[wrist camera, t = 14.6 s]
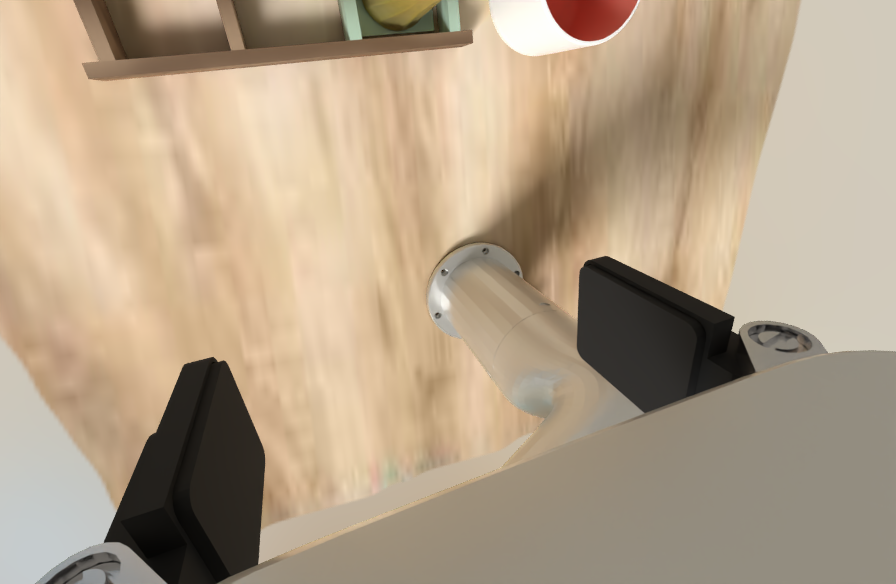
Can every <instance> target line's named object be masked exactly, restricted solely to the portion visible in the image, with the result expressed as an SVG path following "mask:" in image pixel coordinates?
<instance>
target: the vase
mask: <svg viewBox="0 0 896 584" xmlns="http://www.w3.org/2000/svg"><path fill="white" fill-rule="evenodd" d="M440 1H441V0H362V2H363V5H364V7H365V9H366V11H367V12H368V13H369V15H370V16H371V17H372V18H373V19H374V20H375V21H376V22H377V23H378V24H379V25H381V26H382V27H384V28H387V29H389V30H394V31H403V30H407V29H409V28H411V27H413V26H414V25H415V24H417V23H418V22H419V20H420V19H421V18H422V17H423V16H424V15H425V14H426V13H427V12H429V11H430V10H431V9H432V8H433V7H434V6H435V5H437V4H438V3H439V2H440Z"/></svg>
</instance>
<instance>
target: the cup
mask: <svg viewBox="0 0 896 584" xmlns="http://www.w3.org/2000/svg"><path fill="white" fill-rule="evenodd" d="M639 2H640V0H489V8H490V13H491V17H492V21H493V23H494V26H495V28H496V30H497V32H498V34H499V35H500V37H501V38H502V39H503V41H504V42H505V43H506V44H507V45H508V46H509V47H510V48H512V49H513V50H515V51H517V52H519V53H521V54H524V55H528V56H541V55H546V54H552V53H557V52H562V51H567V50H573V49H578V48H583V47H588V46H593V45H598V44H601V43H603V42H606V41H608V40H609V39H611V38H612V37H614V36H615V35H616V34H618V33H619V32H620V31H621V30H622V29H623V28H624V27H625V25H626V24H627V23H628V22H629V20H630V19H631V17H632V16H633V14H634V12H635V10H636V9H637V6H638V4H639Z"/></svg>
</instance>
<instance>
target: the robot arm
mask: <svg viewBox="0 0 896 584" xmlns="http://www.w3.org/2000/svg"><path fill="white" fill-rule="evenodd" d="M483 249H484V250H483ZM482 250H483V251H482ZM443 269H444V270H443ZM442 270H443V271H442ZM441 271H442V272H441ZM426 301H427V308H428V311H429V314H430V316H431V318H432V319H433V321H434V322H435V324H436V325H437V327H438V328H440V329H441V330H442V331H443V332H444V333H446V334H448V335H450V336H452V337H455V338H459V339H463V340H464V342H465V343H466V345H467V346H468V347H469V349H470V350H471V351H472V353H473V354H474V356H475V357H476V358H477V360H478V361H479V362H480V364H481V365H482V366H483V368H484V369H485V371H486V372H487V373H488V375H489V376H490V377H491V379H492V380H493V381H494V383H495V384H496V385H497V387H498V388H499V390H500V391H501V392H502V394H503V395H504V396H505V397H506V399H507V400H508V401H509V402H510V403H512V404H513V405H514V406H515V407H517V408H518V409H520V410H522V411H524V412H526V413H528V414H531V415H534V416H537V417H541V418H545V419H544V421H543V422H542V423H541V424H540V425H539V426H538V429H537V430H536V431H535V432H534V433H533V434H532V435H531V436H530V437H529V438H528V439H527V440H526V442H524V444H523V445H522V446H521V447H520V448H519V449H518V450H517V451H516V452H515V453H514V454H513V455H512V457H511V458H510V459H509V460H508V461H507V462H506V463H505V464H504V465H503V466H502V467H501V468H500V469H497V470H494V471H492V472H489V473H487V474H484V475H482V476H479V477H476V478H474V479H471V480H469V481H466V482H463V483H461V484H458V485H456V486H453V487H451V488H448V489H445V490H443V491H440V492H438V493H435V494H432V495H430V496H427V497H425V498H422V499H420V500H417V501H414V502H412V503H409V504H407V505H404V506H402V507H399V508H396V509H394V510H391V511H389V512H386V513H384V514H381V515H378V516H376V517H373V518H371V519H368V520H366V521H363V522H361V523H358V524H356V525H353V526H350V527H348V528H345V529H343V530H340V531H338V532H335V533H333V534H330V535H328V536H325V537H323V538H320V539H318V540H315V541H313V542H310V543H308V544H306V545H303V546H301V547H298V548H296V549H294V550H291V551H289V552H287V553H284V554H282V555H279V556H277V557H275V558H272V559H270V560H268V561H265V562H263V563H261V564H258V559H259V545H260V530H261V516H262V501H263V487H264V472H265V454H264V449H263V446H262V443H261V441H260V439H259V436H258V434H257V432H256V429H255V427H254V425H253V422H252V420H251V418H250V415H249V413H248V411H247V408H246V406H245V403H244V401H243V399H242V396H241V394H240V392H239V389H238V387H237V385H236V382H235V380H234V378H233V375H232V373H231V371H230V368H229V366H228V364H227V363H226V361H220V362H217V360H216V359H215V358H214V357H211V358H207V359H203V360H199V361H195V362H191V363H187V364H184V366H183V368H182V370H181V373H180V375H179V378H178V380H177V383H176V385H175V387H174V390H173V392H172V395H171V397H170V400H169V402H168V405H167V407H166V410H165V412H164V415H163V417H162V419H161V422H160V424H159V427H158V429H157V432H156V433H154V434H152V435H151V436H150V437H149V438H148V440H147V442H146V444H145V446H144V449H143V451H142V453H141V456H140V458H139V460H138V463H137V465H136V468H135V470H134V472H133V475H132V477H131V479H130V482H129V484H128V486H127V489H126V491H125V493H124V496H123V498H122V501H121V503H120V505H119V508H118V510H117V512H116V515H115V517H114V520H113V522H112V524H111V527H110V529H109V531H108V534H107V536H106V538H105V541H104V543H103V544H99V545H95V546H92V547H89V548H87V549H85V550H83V551H80V552H78V553H77V554H74V555H72V556H70V557H69V558H68V559H66V560H65V561H63V562H62V563H60V564H59V565H57V566H56V567H54V568H53V569H51V570H50V571H49V572H48V573H47V574H46V575H45V576H44V577H42V578H41V579H40V580H39V581H38V582H37V583H35V584H896V352H893V351H874V350H871V351H843V352H835V353H828V352H827V351H826V349H825V348H824V347H823V345H822V344H821V342H820V341H819V340H818V339H817V338H816V337H815V336H814V335H812V334H810V333H809V332H807V331H805V330H803V329H800V328H798V327H795V326H792V325H788V324H784V323H779V322H773V321H755V322H749V323H747V324H744V325H743V326H742V327H741V328H740V330H739V334H736V333H734V332H732V331H731V330H732V326H733V322H734V317H733V316H731V315H729V314H727V313H725V312H723V311H721V310H719V309H717V308H715V307H713V306H711V305H709V304H706V303H704V302H702V301H700V300H698V299H696V298H694V297H692V296H690V295H688V294H686V293H683V292H681V291H679V290H677V289H675V288H673V287H671V286H669V285H667V284H665V283H663V282H661V281H658V280H656V279H654V278H652V277H650V276H648V275H646V274H644V273H642V272H640V271H638V270H635V269H633V268H631V267H629V266H627V265H625V264H623V263H621V262H619V261H617V260H615V259H613V258H610V257H608V256H604V257H600V258H596V259H592V260H588V261H586V262H585V264H584V267H582V268H581V270H580V275H579V300H578V320H577V319H575V318H574V317H573V316H571V315H570V314H569V313H567V312H566V311H565V310H563V309H562V308H561V307H559V306H558V305H557V304H555V303H554V302H553V301H551V300H550V299H549V298H547V297H546V296H545V295H543V294H542V293H541V292H539V291H538V290H537V289H535V288H534V287H533V286H531V285H530V284H529V283H527V282H526V281H525V280H523V275H522V271H521V268H520V265H519V264H518V262H517V261H516V259H515V258H514V257H513V256H512V255H511V254H510V253H509V252H508V251H506V250H505V249H503V248H502V247H499V246H497V245H495V244H490V243H473V244H468V245H465V246H462V247H460V248H458V249H456V250H455V251H453V252H451V253H450V254H449V255H447V256H446V257H445V258H444V259H443V260H442V261H441V262H440V263H439V265H438V266H437V267H436V268H435V270H434V272H433V274H432V276H431V277H430V280H429V283H428V287H427V294H426Z"/></svg>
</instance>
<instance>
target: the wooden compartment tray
mask: <svg viewBox="0 0 896 584" xmlns="http://www.w3.org/2000/svg"><path fill="white" fill-rule="evenodd" d="M216 1H217V5H218V8H219V12H220V15H221V18H222V22H223V25H224V28H225V32H226V35H227V38H228V42H229V45H230V49H231V51H219V52H207V53H195V54H184V55H172V56H160V57H148V58H137V59H127V57H126V54H125V52H124V49H123V47H122V44H121V41H120V39H119V36H118V34H117V31H116V29H115V26H114V24H113V21H112V19H111V16H110V14H109V11H108V9H107V6H106V4H105V1H104V0H74V3H75V5H76V7H77V10H78V12H79V15H80V17H81V19H82V22H83V24H84V26H85V29H86V31H87V33H88V36H89V38H90V40H91V43H92V45H93V47H94V50H95V52H96V55H97V57H98V59H99V62H90V63H82V65H83V67H84V70H85V72H86V74H87V76H88V79H93V80H101V81H109V80H120V79H130V78H141V77H151V76H162V75H172V74H183V73H193V72H204V71H214V70H225V69H235V68H245V67H256V66H266V65H277V64H287V63H298V62H308V61H319V60H329V59H340V58H350V57H361V56H371V55H382V54H392V53H403V52H413V51H424V50H434V49H444V48H455V47H462V46H465V45H468V44H471V43H473V36H472V30H466V31H461V29H460V16H459V4H458V0H441V1H440V2H439V3H438V4H437V5H436V7H437V17H438V27H439V33H431V34H419V35H407V36H396V37H384V38H372V39H362V37H366V36H378V35H390V34H402V33H414V32H426V31H434V22H433V12H432V9H431V10H430V11H429V12H427V13H426V14H425V15H424V16H423V17H422V18H421V19H420V20H419V22H418V23H417V24H415V25H414V26H413V27H411V28H409V29H407V30H403V31H394V30H389V29H387V28H384V27H382V26H381V25H379V24H378V23H377V22H376V21H375V20H374V19H373V18H372V17H371V16H370V15H369V13H368V12H367V11H366V9H365V7H364V5H363V2H362V0H338V5H339V10H340V15H341V21H342V26H343V31H344V37H345V41H337V42H325V43H313V44H301V45H290V46H278V47H266V48H254V49H247V47H246V44H245V40H244V37H243V33H242V30H241V26H240V22H239V19H238V15H237V12H236V8H235V5H234V1H233V0H216Z"/></svg>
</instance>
